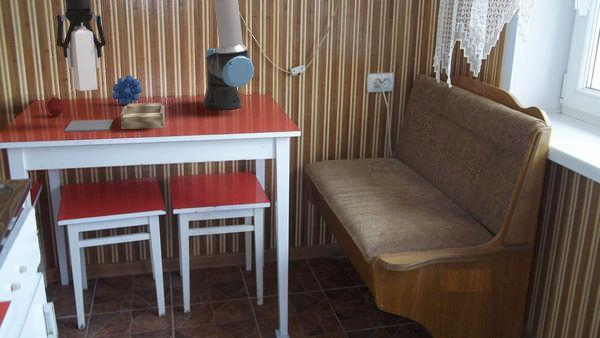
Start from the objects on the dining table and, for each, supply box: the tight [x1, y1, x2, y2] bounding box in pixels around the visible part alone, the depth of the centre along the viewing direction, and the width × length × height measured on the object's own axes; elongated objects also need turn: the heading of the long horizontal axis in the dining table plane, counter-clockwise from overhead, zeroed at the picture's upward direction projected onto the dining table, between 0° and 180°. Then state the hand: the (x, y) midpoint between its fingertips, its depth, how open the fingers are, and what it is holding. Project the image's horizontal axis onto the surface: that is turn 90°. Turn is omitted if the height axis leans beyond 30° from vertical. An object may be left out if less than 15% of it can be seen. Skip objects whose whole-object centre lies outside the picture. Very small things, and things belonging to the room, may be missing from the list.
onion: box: [46, 94, 65, 118], centre depth 221 cm, size 6×6×8 cm
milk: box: [69, 22, 99, 92], centre depth 201 cm, size 6×6×22 cm
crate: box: [120, 102, 166, 130], centre depth 213 cm, size 14×22×5 cm, turn 10°
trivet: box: [64, 119, 114, 133], centre depth 208 cm, size 14×14×1 cm
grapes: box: [112, 75, 143, 106], centre depth 241 cm, size 12×7×12 cm, turn 97°
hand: (84, 67), depth 202 cm, fingers closed on milk, 8 cm apart
